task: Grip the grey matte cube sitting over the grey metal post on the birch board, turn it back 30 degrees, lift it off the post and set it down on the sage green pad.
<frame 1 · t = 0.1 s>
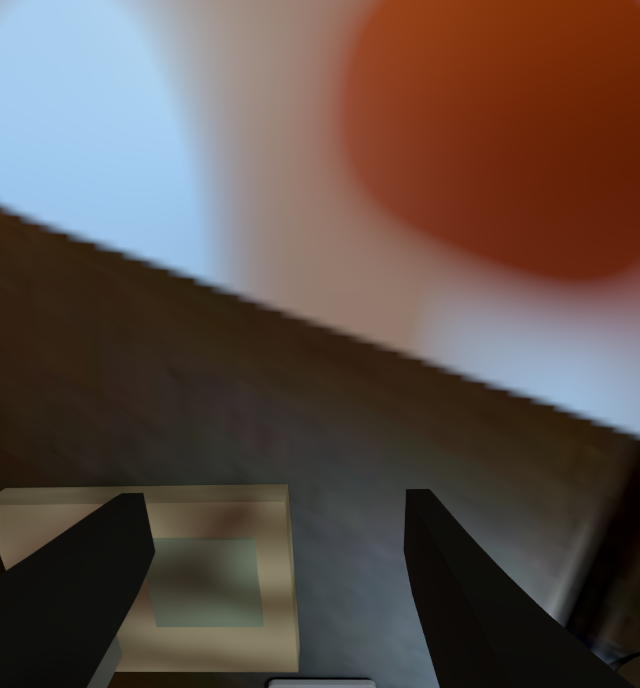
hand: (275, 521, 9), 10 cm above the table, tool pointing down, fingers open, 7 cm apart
grey matte cube: (78, 629, 22), point 1 cm above the table, touching board
board: (162, 573, 23), on the table
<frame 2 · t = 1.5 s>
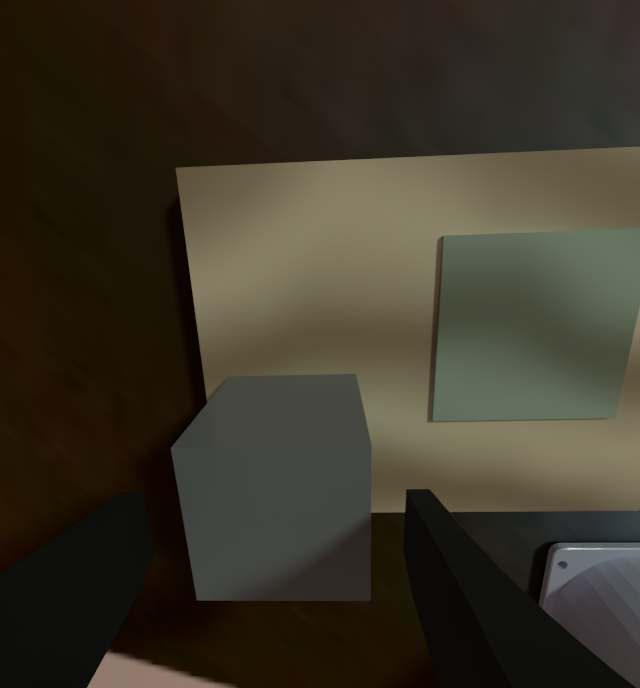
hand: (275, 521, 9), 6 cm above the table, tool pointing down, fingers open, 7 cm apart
grey matte cube: (295, 432, 14), point 1 cm above the table, touching board
board: (424, 348, 14), on the table
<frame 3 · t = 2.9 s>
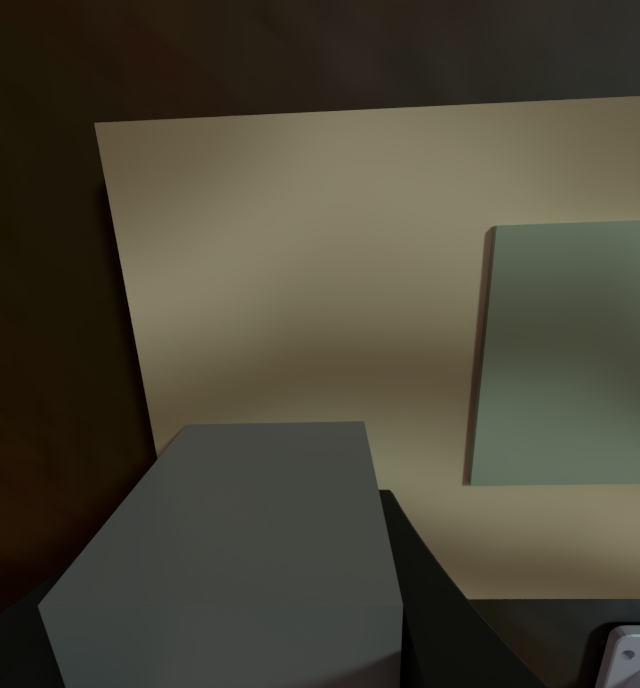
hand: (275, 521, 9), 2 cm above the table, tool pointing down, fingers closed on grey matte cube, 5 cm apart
grey matte cube: (280, 498, 10), point 1 cm above the table, touching board, gripper
board: (455, 381, 10), on the table
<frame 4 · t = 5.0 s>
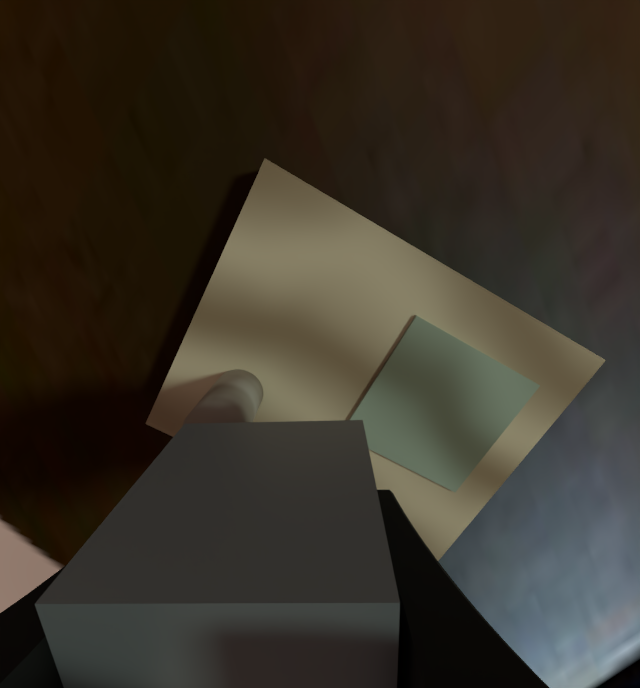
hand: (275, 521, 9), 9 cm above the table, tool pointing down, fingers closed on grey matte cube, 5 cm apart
grey matte cube: (279, 497, 10), point 8 cm above the table, touching gripper
board: (362, 381, 18), on the table
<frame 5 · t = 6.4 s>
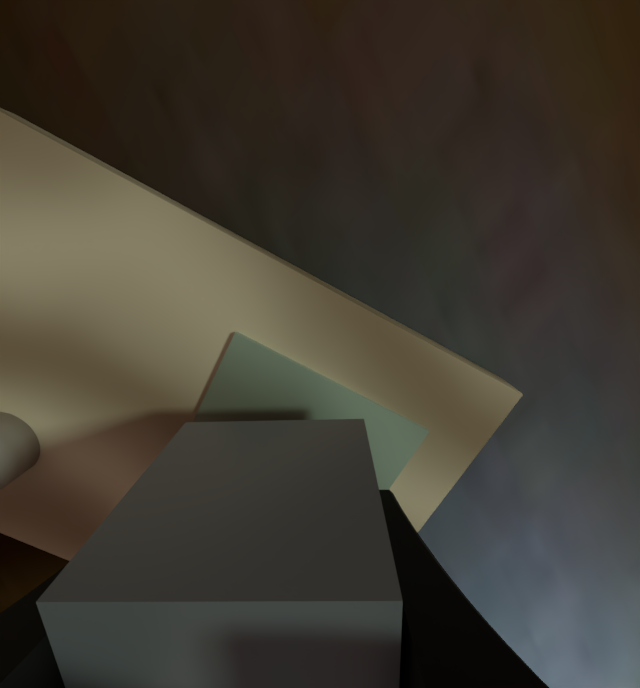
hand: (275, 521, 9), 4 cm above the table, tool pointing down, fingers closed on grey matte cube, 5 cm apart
grey matte cube: (279, 496, 10), point 3 cm above the table, touching gripper
board: (199, 422, 13), on the table
when the fingers open (4 cm above the table, at t = 7.3 s): grey matte cube drops 1 cm, resting on board.
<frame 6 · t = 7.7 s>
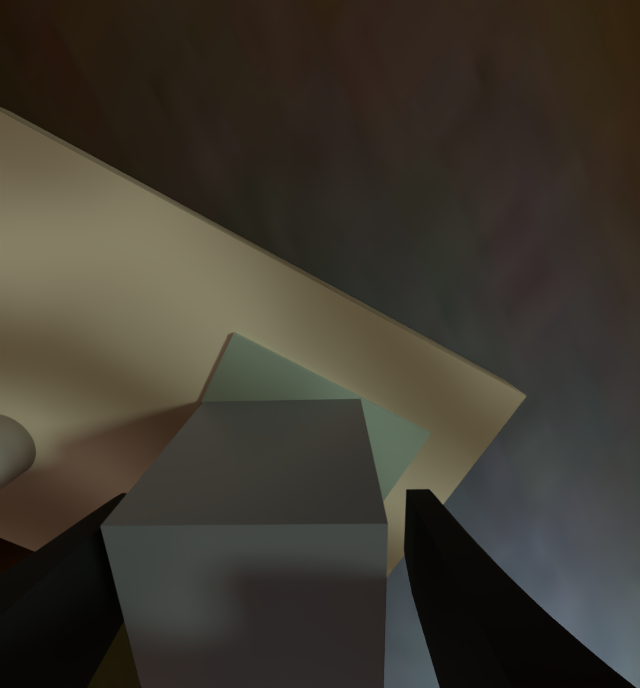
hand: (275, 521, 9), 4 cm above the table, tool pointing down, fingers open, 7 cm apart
grey matte cube: (286, 468, 11), point 2 cm above the table, touching board
board: (197, 423, 13), on the table
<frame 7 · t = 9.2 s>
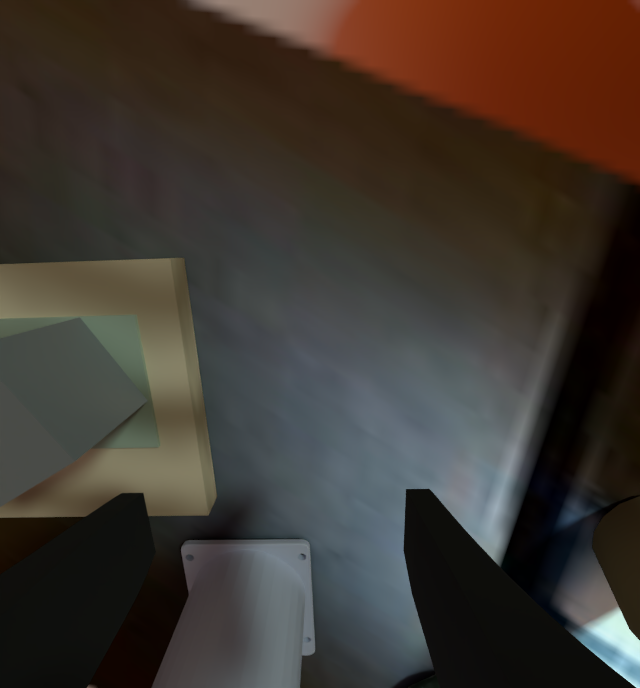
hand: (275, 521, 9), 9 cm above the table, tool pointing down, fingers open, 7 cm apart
grey matte cube: (77, 385, 17), point 2 cm above the table, touching board
board: (42, 392, 19), on the table
squeeze bottle: (636, 530, 20), on the table
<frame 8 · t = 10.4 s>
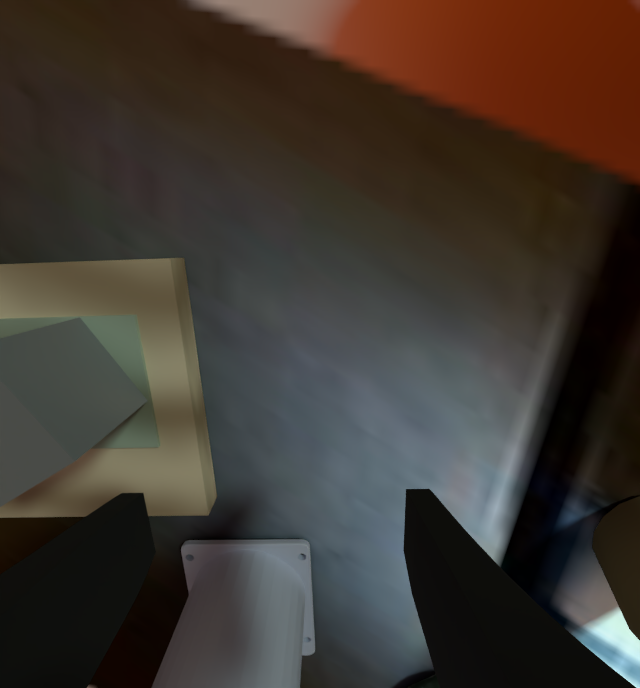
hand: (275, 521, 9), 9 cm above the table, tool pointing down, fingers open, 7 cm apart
grey matte cube: (77, 385, 17), point 2 cm above the table, touching board
board: (42, 392, 19), on the table
squeeze bottle: (636, 530, 20), on the table
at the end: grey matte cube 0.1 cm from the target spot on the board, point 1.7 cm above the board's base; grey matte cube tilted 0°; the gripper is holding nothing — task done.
